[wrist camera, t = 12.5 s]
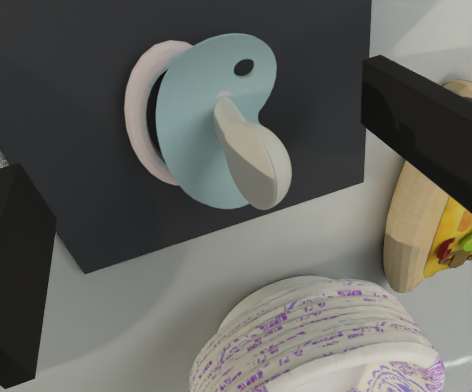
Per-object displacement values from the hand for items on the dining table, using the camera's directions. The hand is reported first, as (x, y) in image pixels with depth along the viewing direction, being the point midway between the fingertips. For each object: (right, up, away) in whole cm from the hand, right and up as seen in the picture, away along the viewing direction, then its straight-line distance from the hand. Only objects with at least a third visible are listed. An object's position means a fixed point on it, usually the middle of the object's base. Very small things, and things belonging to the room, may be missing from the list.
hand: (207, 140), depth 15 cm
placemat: (-1, +2, +2) cm, 3 cm away
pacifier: (-1, +1, +2) cm, 3 cm away
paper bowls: (+4, -11, +14) cm, 18 cm away
